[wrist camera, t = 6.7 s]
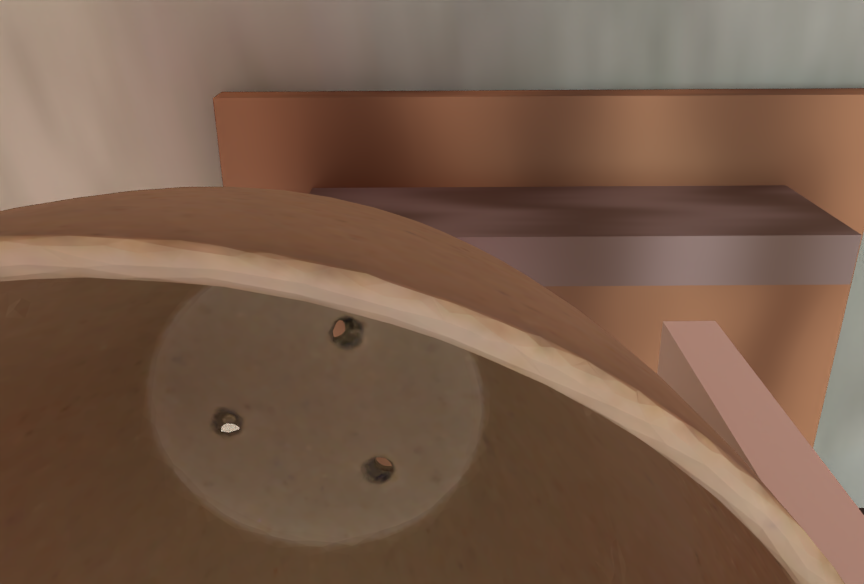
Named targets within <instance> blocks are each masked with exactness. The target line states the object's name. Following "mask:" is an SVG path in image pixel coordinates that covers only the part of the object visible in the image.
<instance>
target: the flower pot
mask: <svg viewBox="0 0 864 584" xmlns="http://www.w3.org/2000/svg"><path fill="white" fill-rule="evenodd" d="M339 320H342V321H343V322H344V324H345V331H344V333H343V334H341V335H339V336H337V337H334V336H333V329H334V327H335V325H336V323H337V322H338V321H339ZM226 423H231V424H236V425H237V426H239V427H240V429H239V430H236V431H233V432H230V433H227V432H221V426H223V425H224V424H226ZM377 457H380V458H386V459H387V460H388V461H389V462H390V463H391V465H392V466H384V465H382V464H380V463H379V462H378V461H377V460H376V458H377ZM0 584H845V583H844V581H843V580H842V578H841V577H840V575H839V574H838V572H837V571H836V569H835V568H834V567H833V565H832V564H831V563H830V562H829V561H828V559H827V558H826V557H825V556H824V554H823V553H822V552H821V551H820V550H819V548H818V547H817V546H816V545H815V543H814V542H813V541H812V540H811V538H810V537H809V536H808V534H807V533H806V532H805V531H804V530H803V528H802V527H801V526H800V525H799V524H798V523H797V521H796V520H795V519H794V518H793V517H792V516H791V515H790V513H789V512H788V511H787V510H786V509H785V508H784V506H783V505H782V504H781V503H780V502H779V501H778V500H777V498H776V497H775V496H774V495H773V494H772V493H771V491H770V490H769V489H768V488H767V487H766V486H765V485H764V483H763V482H762V481H761V480H760V479H759V478H758V477H757V475H756V474H755V473H754V472H753V471H752V470H751V468H750V467H749V466H748V465H747V464H746V463H745V462H744V460H743V459H742V458H741V457H740V456H739V455H738V453H737V452H736V451H735V450H734V449H733V448H732V447H731V446H730V445H729V444H728V443H727V442H726V441H725V440H724V439H723V438H722V437H721V436H720V435H719V434H718V433H717V432H716V431H715V430H714V429H713V428H712V427H711V426H710V425H709V424H708V423H707V422H706V421H705V420H704V419H703V418H702V417H701V416H700V415H699V414H698V413H697V412H696V411H695V410H694V409H693V408H692V407H691V406H690V405H688V404H687V403H686V402H685V401H684V400H683V399H682V398H681V397H680V396H679V395H678V394H677V393H676V392H675V391H674V390H673V389H672V388H671V387H670V386H669V385H668V384H667V383H666V382H665V381H664V380H663V379H662V378H661V377H660V376H659V375H658V374H657V373H655V372H654V371H653V370H652V369H651V368H649V367H648V366H647V365H646V364H645V363H643V362H642V361H641V360H640V359H639V358H638V357H636V356H635V355H634V354H633V353H632V352H630V351H629V350H628V349H627V348H626V347H624V346H623V345H622V344H621V343H620V342H619V341H617V340H616V339H615V338H614V337H612V336H611V335H610V334H609V333H607V332H606V331H605V330H603V329H602V328H601V327H600V326H598V325H597V324H596V323H594V322H593V321H592V320H591V319H589V318H588V317H587V316H585V315H584V314H583V313H582V312H580V311H579V310H578V309H576V308H575V307H574V306H572V305H571V304H569V303H568V302H566V301H565V300H563V299H562V298H560V297H559V296H557V295H556V294H554V293H552V292H551V291H549V290H548V289H546V288H545V287H543V286H542V285H540V284H539V283H537V282H536V281H534V280H533V279H531V278H530V277H528V276H527V275H525V274H523V273H522V272H520V271H518V270H517V269H515V268H513V267H512V266H510V265H508V264H507V263H505V262H503V261H501V260H500V259H498V258H496V257H494V256H492V255H490V254H488V253H486V252H485V251H483V250H481V249H479V248H477V247H475V246H473V245H471V244H468V243H466V242H464V241H462V240H460V239H458V238H455V237H453V236H451V235H449V234H447V233H445V232H442V231H440V230H438V229H435V228H433V227H430V226H428V225H425V224H423V223H420V222H418V221H415V220H412V219H409V218H406V217H403V216H400V215H397V214H394V213H390V212H387V211H384V210H381V209H377V208H374V207H370V206H365V205H361V204H357V203H353V202H348V201H344V200H340V199H336V198H331V197H326V196H319V195H312V194H306V193H299V192H293V191H286V190H275V189H260V188H244V187H179V188H165V189H152V190H138V191H127V192H119V193H112V194H104V195H96V196H88V197H80V198H73V199H67V200H61V201H55V202H49V203H43V204H36V205H30V206H24V207H18V208H13V209H8V210H4V211H0Z"/></svg>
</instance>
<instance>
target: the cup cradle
mask: <svg viewBox="0 0 864 584" xmlns="http://www.w3.org/2000/svg"><path fill="white" fill-rule="evenodd" d="M213 103H214V112H215V120H216V129H217V137H218V146H219V154H220V163H221V171H222V180H223V187H244V188H260V189H275V190H286V191H293V192H299V193H306V194H312V195H319V196H326V197H331V198H336V199H340V200H344V201H348V202H353V203H357V204H361V205H365V206H370V207H374V208H377V209H381V210H384V211H387V212H390V213H394V214H397V215H400V216H403V217H406V218H409V219H412V220H415V221H418V222H420V223H423V224H425V225H428V226H430V227H433V228H435V229H438V230H440V231H442V232H445V233H447V234H449V235H451V236H453V237H455V238H458V239H460V240H462V241H464V242H466V243H468V244H471V245H473V246H475V247H477V248H479V249H481V250H483V251H485V252H486V253H488V254H490V255H492V256H494V257H496V258H498V259H500V260H501V261H503V262H505V263H507V264H508V265H510V266H512V267H513V268H515V269H517V270H518V271H520V272H522V273H523V274H525V275H527V276H528V277H530V278H531V279H533V280H534V281H536V282H537V283H539V284H540V285H542V286H543V287H545V288H546V289H548V290H549V291H551V292H552V293H554V294H556V295H557V296H559V297H560V298H562V299H563V300H565V301H566V302H568V303H569V304H571V305H572V306H574V307H575V308H576V309H578V310H579V311H580V312H582V313H583V314H584V315H585V316H587V317H588V318H589V319H591V320H592V321H593V322H594V323H596V324H597V325H598V326H600V327H601V328H602V329H603V330H605V331H606V332H607V333H609V334H610V335H611V336H612V337H614V338H615V339H616V340H617V341H619V342H620V343H621V344H622V345H623V346H624V347H626V348H627V349H628V350H629V351H630V352H632V353H633V354H634V355H635V356H636V357H638V358H639V359H640V360H641V361H642V362H643V363H645V364H646V365H647V366H648V367H649V368H651V369H652V370H653V371H654V372H655V373H657V371H658V362H659V353H660V344H661V335H662V325H663V321H716V322H717V324H718V325H719V326H720V328H721V329H722V330H723V332H724V333H725V334H726V335H727V337H728V338H729V339H730V341H731V342H732V343H733V345H734V346H735V347H736V349H737V350H738V351H739V352H740V354H741V355H742V356H743V358H744V359H745V360H746V362H747V363H748V364H749V366H750V367H751V368H752V370H753V371H754V372H755V373H756V375H757V376H758V377H759V379H760V380H761V381H762V383H763V384H764V385H765V387H766V388H767V389H768V390H769V392H770V393H771V394H772V396H773V397H774V398H775V400H776V401H777V402H778V404H779V405H780V406H781V407H782V409H783V410H784V411H785V413H786V414H787V415H788V417H789V418H790V419H791V421H792V422H793V423H794V425H795V426H796V427H797V428H798V430H799V431H800V432H801V434H802V435H803V436H804V438H805V439H806V440H807V442H808V443H809V444H810V445H811V447H812V448H813V445H814V441H815V437H816V432H817V428H818V424H819V419H820V415H821V411H822V407H823V402H824V398H825V394H826V390H827V385H828V381H829V377H830V372H831V368H832V364H833V360H834V355H835V351H836V347H837V343H838V338H839V334H840V330H841V325H842V321H843V317H844V313H845V308H846V304H847V300H848V296H849V291H850V287H851V283H852V278H853V274H854V270H855V266H856V261H857V257H858V253H859V248H860V244H861V240H862V236H863V231H864V88H859V89H676V90H494V91H312V92H221V93H220V94H218V95H217V96H215V97H214V98H213ZM344 331H345V324H344V322H343V321H342V320H339V321H338V322H337V323H336V325H335V327H334V329H333V336H334V337H337V336H339V335H341V334H343V333H344ZM376 460H377V461H378V462H379V463H380V464H382V465H384V466H392V465H391V463H390V462H389V461H388V460H387V459H386V458H380V457H377V458H376Z"/></svg>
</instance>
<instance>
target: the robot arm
mask: <svg viewBox="0 0 864 584" xmlns="http://www.w3.org/2000/svg"><path fill="white" fill-rule="evenodd" d="M657 374H658V375H659V376H660V377H661V378H662V379H663V380H664V381H665V382H666V383H667V384H668V385H669V386H670V387H671V388H672V389H673V390H674V391H675V392H676V393H677V394H678V395H679V396H680V397H681V398H682V399H683V400H684V401H685V402H686V403H687V404H688V405H690V406H691V407H692V408H693V409H694V410H695V411H696V412H697V413H698V414H699V415H700V416H701V417H702V418H703V419H704V420H705V421H706V422H707V423H708V424H709V425H710V426H711V427H712V428H713V429H714V430H715V431H716V432H717V433H718V434H719V435H720V436H721V437H722V438H723V439H724V440H725V441H726V442H727V443H728V444H729V445H730V446H731V447H732V448H733V449H734V450H735V451H736V452H737V453H738V455H739V456H740V457H741V458H742V459H743V460H744V462H745V463H746V464H747V465H748V466H749V467H750V468H751V470H752V471H753V472H754V473H755V474H756V475H757V477H758V478H759V479H760V480H761V481H762V482H763V483H764V485H765V486H766V487H767V488H768V489H769V490H770V491H771V493H772V494H773V495H774V496H775V497H776V498H777V500H778V501H779V502H780V503H781V504H782V505H783V506H784V508H785V509H786V510H787V511H788V512H789V513H790V515H791V516H792V517H793V518H794V519H795V520H796V521H797V523H798V524H799V525H800V526H801V527H802V528H803V530H804V531H805V532H806V533H807V534H808V536H809V537H810V538H811V540H812V541H813V542H814V543H815V545H816V546H817V547H818V548H819V550H820V551H821V552H822V553H823V554H824V556H825V557H826V558H827V559H828V561H829V562H830V563H831V564H832V565H833V567H834V568H835V569H836V571H837V572H838V574H839V575H840V577H841V578H842V580H843V581H844V583H845V584H864V508H858V507H857V506H856V504H855V503H854V502H853V500H852V499H851V498H850V497H849V495H848V494H847V493H846V491H845V490H844V489H843V487H842V486H841V485H840V483H839V482H838V481H837V479H836V478H835V477H834V476H833V474H832V473H831V472H830V470H829V469H828V468H827V466H826V465H825V464H824V462H823V461H822V460H821V459H820V457H819V456H818V455H817V453H816V452H815V451H814V449H813V448H812V447H811V445H810V444H809V443H808V442H807V440H806V439H805V438H804V436H803V435H802V434H801V432H800V431H799V430H798V428H797V427H796V426H795V425H794V423H793V422H792V421H791V419H790V418H789V417H788V415H787V414H786V413H785V411H784V410H783V409H782V407H781V406H780V405H779V404H778V402H777V401H776V400H775V398H774V397H773V396H772V394H771V393H770V392H769V390H768V389H767V388H766V387H765V385H764V384H763V383H762V381H761V380H760V379H759V377H758V376H757V375H756V373H755V372H754V371H753V370H752V368H751V367H750V366H749V364H748V363H747V362H746V360H745V359H744V358H743V356H742V355H741V354H740V352H739V351H738V350H737V349H736V347H735V346H734V345H733V343H732V342H731V341H730V339H729V338H728V337H727V335H726V334H725V333H724V332H723V330H722V329H721V328H720V326H719V325H718V324H717V322H716V321H663V325H662V335H661V344H660V353H659V362H658V371H657Z"/></svg>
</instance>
